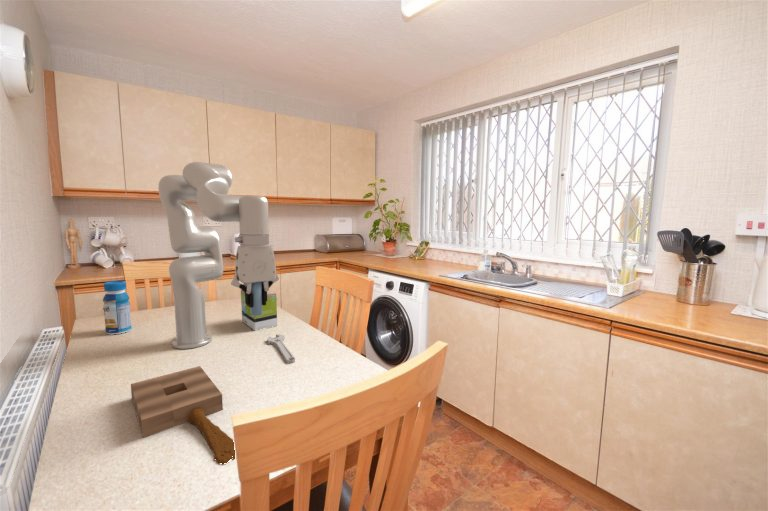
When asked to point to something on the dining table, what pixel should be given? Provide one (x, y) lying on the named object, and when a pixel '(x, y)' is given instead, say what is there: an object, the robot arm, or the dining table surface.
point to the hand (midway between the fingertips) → (256, 304)
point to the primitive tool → (213, 436)
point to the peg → (256, 299)
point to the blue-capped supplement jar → (116, 308)
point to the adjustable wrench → (282, 347)
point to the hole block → (173, 399)
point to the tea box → (267, 315)
